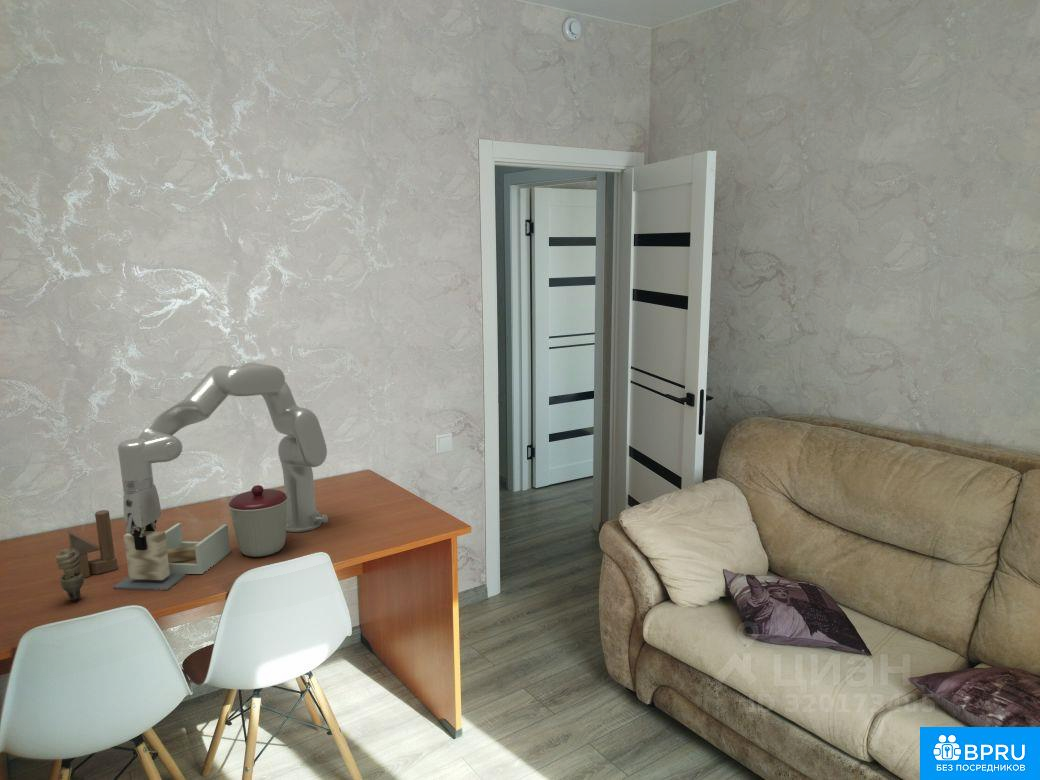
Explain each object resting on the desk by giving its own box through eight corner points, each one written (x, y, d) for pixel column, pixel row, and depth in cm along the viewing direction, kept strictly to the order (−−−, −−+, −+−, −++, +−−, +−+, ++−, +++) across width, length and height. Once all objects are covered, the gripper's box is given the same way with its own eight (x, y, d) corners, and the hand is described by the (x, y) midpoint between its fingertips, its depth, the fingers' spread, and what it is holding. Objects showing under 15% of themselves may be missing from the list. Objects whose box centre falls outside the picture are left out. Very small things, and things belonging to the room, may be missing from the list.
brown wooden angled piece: (74, 576, 212) (65, 517, 208) (115, 565, 218) (108, 508, 215) (76, 580, 209) (67, 520, 205) (118, 569, 215) (110, 511, 212)
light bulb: (80, 605, 194) (72, 552, 191) (58, 606, 193) (50, 553, 190) (90, 595, 199) (82, 543, 196) (69, 596, 199) (61, 544, 196)
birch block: (169, 574, 207) (164, 531, 205) (162, 580, 204) (157, 536, 201) (137, 573, 208) (131, 530, 206) (129, 579, 205) (123, 535, 203)
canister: (287, 535, 239) (282, 473, 235) (298, 554, 223) (292, 489, 220) (228, 546, 231) (222, 482, 227) (235, 567, 215) (228, 499, 211)
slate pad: (185, 576, 210) (185, 574, 210) (167, 590, 201) (167, 588, 201) (133, 574, 212) (133, 572, 212) (113, 588, 203) (113, 586, 203)
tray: (230, 551, 227) (227, 524, 225) (201, 575, 211) (198, 545, 209) (180, 550, 229) (177, 523, 227) (148, 573, 212) (144, 544, 211)
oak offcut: (201, 555, 219) (200, 545, 219) (201, 558, 216) (201, 548, 216) (164, 559, 215) (163, 549, 215) (163, 563, 212) (163, 553, 211)
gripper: (132, 494, 192) (140, 559, 196) (168, 475, 209) (175, 535, 212) (105, 493, 193) (114, 558, 197) (143, 474, 209) (151, 535, 213)
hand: (146, 546), depth 204 cm, fingers closed on birch block, 3 cm apart
